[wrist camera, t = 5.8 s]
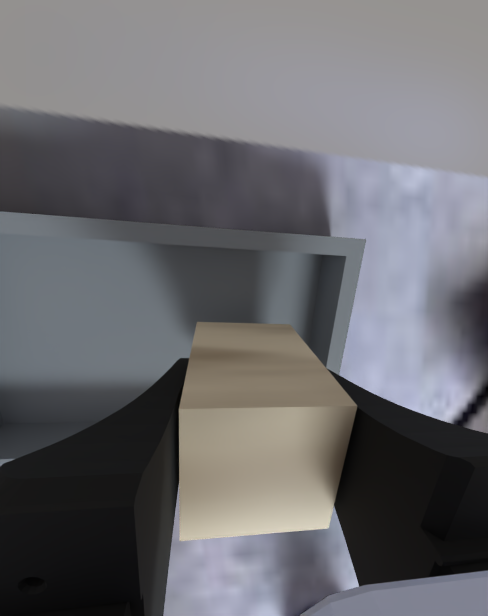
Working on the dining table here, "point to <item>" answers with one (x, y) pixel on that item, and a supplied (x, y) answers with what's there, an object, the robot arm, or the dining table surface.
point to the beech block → (258, 433)
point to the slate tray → (144, 309)
